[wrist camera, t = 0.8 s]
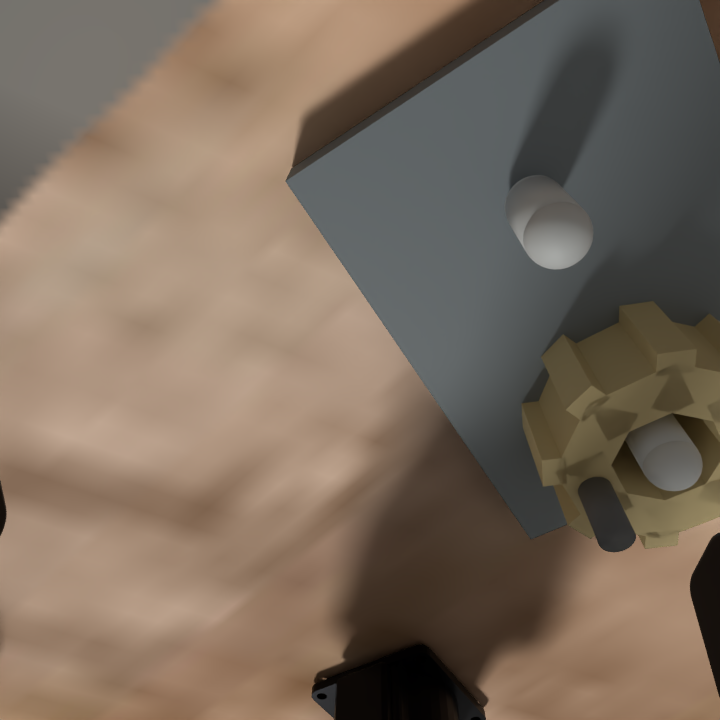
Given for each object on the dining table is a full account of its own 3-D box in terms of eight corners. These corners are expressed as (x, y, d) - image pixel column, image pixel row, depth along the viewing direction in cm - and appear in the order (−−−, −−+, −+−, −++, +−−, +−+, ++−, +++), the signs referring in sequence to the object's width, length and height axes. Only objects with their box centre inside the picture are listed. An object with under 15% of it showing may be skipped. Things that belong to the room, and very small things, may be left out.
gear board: (808, 390, 23) (953, 522, 17) (522, 511, 26) (564, 657, 20) (649, -70, 16) (800, -106, 10) (291, 168, 19) (257, 241, 13)
